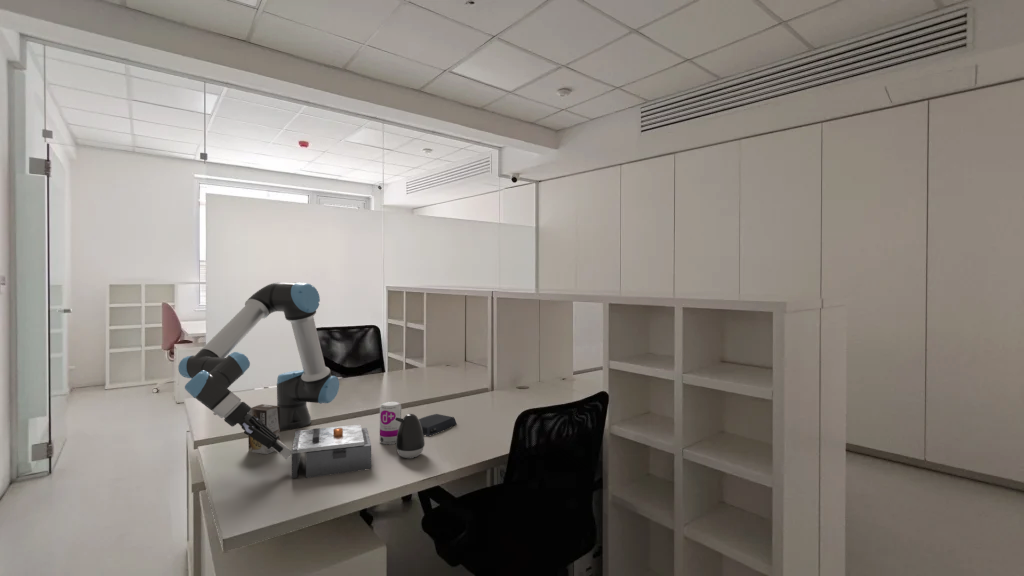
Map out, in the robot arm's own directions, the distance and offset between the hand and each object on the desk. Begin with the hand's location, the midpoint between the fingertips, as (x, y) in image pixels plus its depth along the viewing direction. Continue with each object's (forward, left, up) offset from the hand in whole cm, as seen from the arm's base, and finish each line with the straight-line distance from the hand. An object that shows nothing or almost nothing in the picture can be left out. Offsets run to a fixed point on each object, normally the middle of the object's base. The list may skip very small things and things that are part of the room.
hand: (289, 455), depth 155 cm
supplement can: (+22, +31, -5) cm, 38 cm away
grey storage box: (+13, +8, -5) cm, 16 cm away
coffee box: (-20, +14, -5) cm, 25 cm away
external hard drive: (+33, +51, -5) cm, 61 cm away
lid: (+10, +7, -4) cm, 13 cm away
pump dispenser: (+35, +18, -5) cm, 40 cm away
